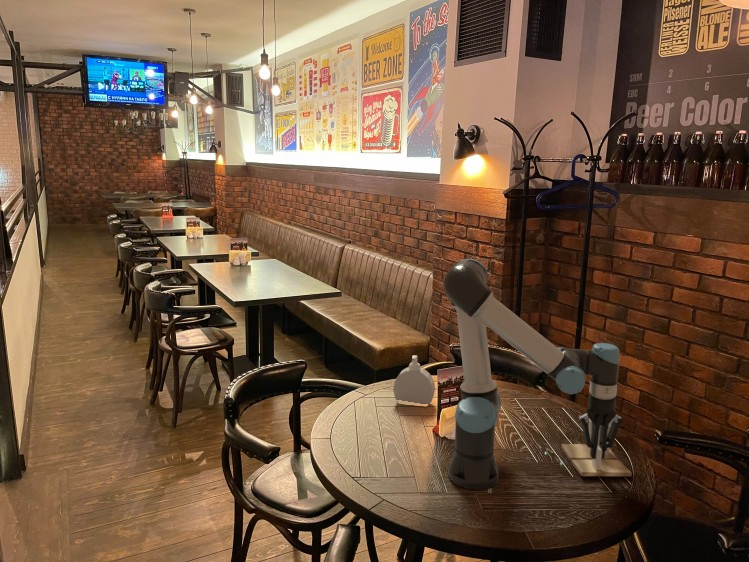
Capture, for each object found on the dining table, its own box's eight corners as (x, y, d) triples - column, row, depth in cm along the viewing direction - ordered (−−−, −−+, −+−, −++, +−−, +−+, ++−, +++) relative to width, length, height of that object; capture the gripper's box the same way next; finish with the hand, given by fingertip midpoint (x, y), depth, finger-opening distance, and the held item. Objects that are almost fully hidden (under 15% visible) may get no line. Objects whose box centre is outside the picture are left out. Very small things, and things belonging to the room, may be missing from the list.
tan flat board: (570, 461, 179) (570, 458, 178) (561, 447, 188) (561, 444, 188) (617, 462, 178) (617, 458, 178) (606, 447, 188) (606, 444, 187)
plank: (581, 476, 169) (581, 472, 169) (571, 463, 178) (571, 459, 178) (631, 476, 169) (631, 472, 169) (618, 463, 178) (618, 459, 178)
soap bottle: (392, 404, 222) (393, 356, 218) (395, 399, 227) (396, 352, 223) (432, 409, 218) (433, 360, 214) (435, 403, 223) (436, 355, 219)
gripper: (584, 399, 163) (579, 473, 168) (629, 400, 163) (622, 474, 168) (576, 390, 171) (571, 461, 175) (619, 390, 171) (612, 461, 175)
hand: (596, 467), depth 171 cm, fingers closed
